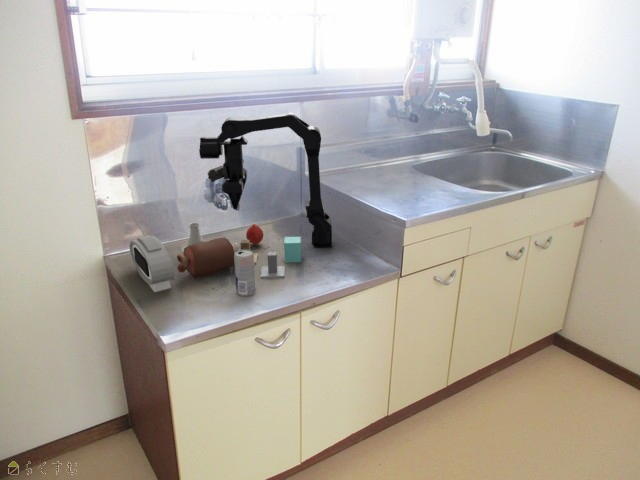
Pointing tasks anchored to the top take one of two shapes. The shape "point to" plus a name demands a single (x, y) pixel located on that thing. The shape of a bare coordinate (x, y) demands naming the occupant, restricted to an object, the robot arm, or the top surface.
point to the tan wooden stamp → (246, 245)
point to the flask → (194, 234)
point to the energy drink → (244, 272)
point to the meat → (207, 257)
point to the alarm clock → (152, 262)
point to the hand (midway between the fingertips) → (236, 204)
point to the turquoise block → (292, 249)
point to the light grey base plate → (272, 267)
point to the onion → (254, 234)
